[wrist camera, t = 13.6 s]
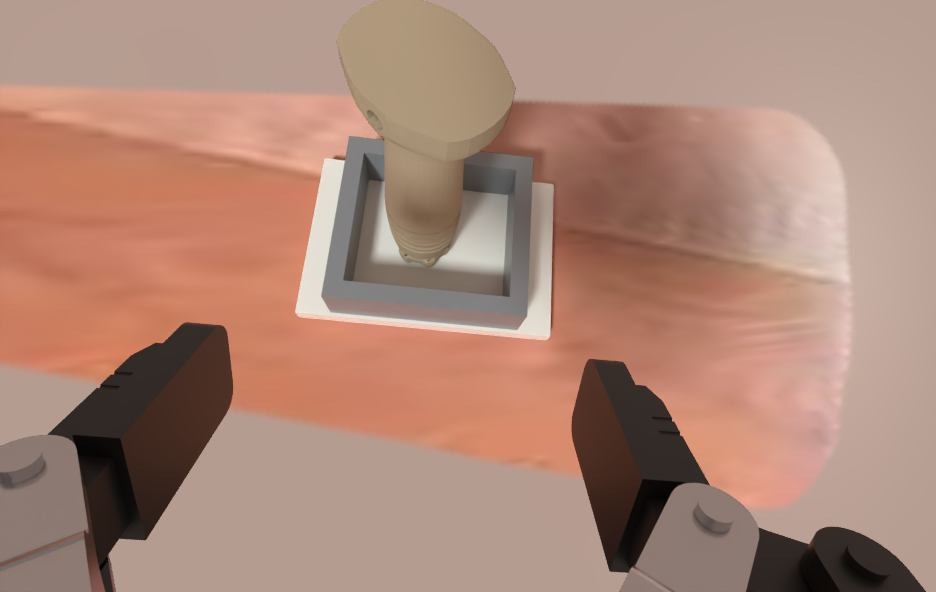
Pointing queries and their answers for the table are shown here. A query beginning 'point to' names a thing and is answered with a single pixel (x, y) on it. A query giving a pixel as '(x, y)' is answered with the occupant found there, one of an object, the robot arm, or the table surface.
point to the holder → (455, 274)
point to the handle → (424, 111)
